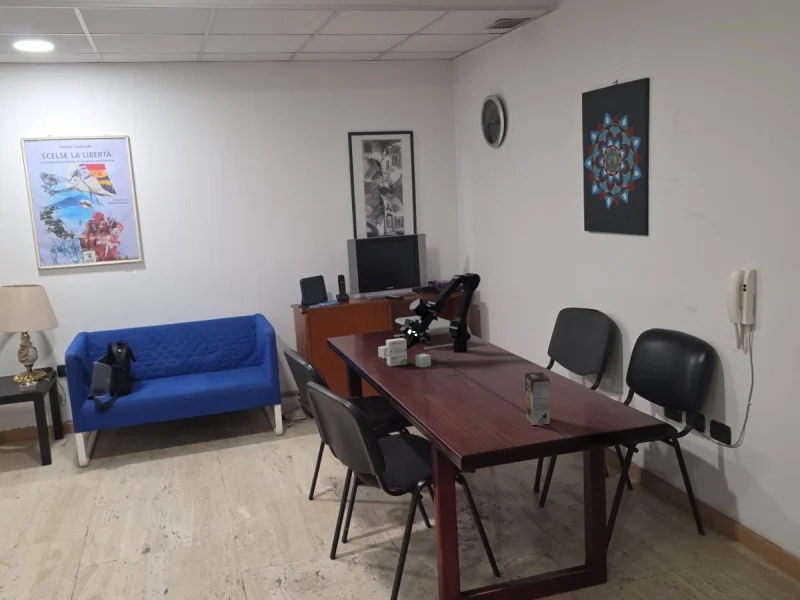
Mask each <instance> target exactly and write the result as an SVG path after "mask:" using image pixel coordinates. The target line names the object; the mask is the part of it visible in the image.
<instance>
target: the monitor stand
mask: <svg viewBox="0 0 800 600" xmlns="http://www.w3.org/2000/svg"><path fill="white" fill-rule="evenodd" d="M420 317H421V316H417V315H413V316H405V317H397V318H395V320H394V322H395V323H397V324H399V325H402V326H405V327H408V328H410V327H409V326H407V325H404V323H405V320H406V319H410V320H414V319H417V320H419V318H420ZM437 318H438V321H436V320H433V321H432V322H431V324H430V325H429V330H426V331H425V332H427V333H428V334H430V333H433V332H437V331H445V330H449V328H448V327H449V326H450V321H451V320H448V319H444V318H441V317H439V316H437ZM467 332H468V333H469V334H470V335H471V336H472V332H471V328H470V327H469V326H467ZM414 334H415V333H414ZM400 336H403V337H406V336H405V335H404V334H403V333H402V334H394V335H392V338H393V337H396V338H401V337H400ZM447 346H449V347H453V342H452V343H447V344H438V345H433V346H426V347H423V348H422V350H423V351H428V350H434V349H433V348H435V349H441V348H440V347H442V348H448V347H447ZM427 349H428V350H427Z"/></svg>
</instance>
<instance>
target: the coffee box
mask: <svg viewBox="0 0 800 600" xmlns="http://www.w3.org/2000/svg"><path fill="white" fill-rule="evenodd" d="M524 376H525V378H524V380H525V381H524V382H525V383H524V384H525V385H524V386H525V418H526V417H527V418H526V419H527V421H528V420H529V421H530V422H531V423H532V424H533V425H534V424H548V423H550V424H551V378H549V377H548V376H547V375H546V374H545V373H544V372H543V371H541V372H525V373H524ZM529 421H528V422H529ZM530 422H529V423H530ZM531 423H530V424H531ZM532 424H531V425H532Z"/></svg>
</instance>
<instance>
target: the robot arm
mask: <svg viewBox="0 0 800 600" xmlns="http://www.w3.org/2000/svg"><path fill="white" fill-rule="evenodd" d="M480 283H481V276H480V275H479V274H478V273H472V272H466V273H464V274H454V275H453V276H452V278H451V280H449V281H448V283H447V284H446V286H444V287H443V288H442V289H441V291H440V292H439V293H438V294H437V295H435V296H433V297H432V298H431V299H429V300H428V302H424V300H423V299H422V298H419V297H418V298H417V299H416V300H413V302H411V303H410V304H409V309H410V311H412V313H414V314H415V316H421V317H420V318H419V320H417V319H414V320H410V319H406V320H405V323H404V325H407V326H409V327H407V326H404V325H402V326H401V327H400V329H399V331H400V332H401V333H402V334H404V335H405V336H404V337H407V338H406V344H407V350H409V349H411V348H412V347H414V346H416V345H418V344H420V343H422V342H423V341H422V340H423V339H424V340H425V343H428V344H430V343H431V341H432V340H433V338H432V336H431V335H430V333H427V332H425V331H426V330H429V325H430V324H431V322H432V321H433V320H436V321H438V318H437V317H438V314H441V313H442V312H443V311H444V309H445V308H446V305H447V301H448V300H449V298H450V297H451V296H452V295H453V294H454V293H455V292H456V290H457V289H458V288H459V287H460V285H461V284H462V288H463V292H462V295H461V298H460V301H459V306H458V310H457V313H456V317H455V318H454V320H453V319H450V320H449V321H450V326H449V327H448V328H449V329H448V332H449V334H450V336H451V338H452V339H453V342H452V343H453V346H452V347H453V353H464V352H466V353H468V352H469V350H470V349H469V340H471V336H472V334H471V335H470V334H469V333H468V331H467V327H468V324H467V317H468V313H469V310H470V305H471V302H472V299H473V295H474V292H476V290H477V289H478V288H479V285H480ZM434 313H436V314H434ZM414 333H415V334H414ZM467 351H468V352H467Z"/></svg>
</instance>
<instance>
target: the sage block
mask: <svg viewBox="0 0 800 600" xmlns="http://www.w3.org/2000/svg"><path fill="white" fill-rule="evenodd" d="M414 356H415V358H414V360H415V367H418V366H419V367H418V368H421V367H423V368H427V366H428V367H431V366H432V358H431V355H430V354H428V353H420V354H415V355H414Z"/></svg>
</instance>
